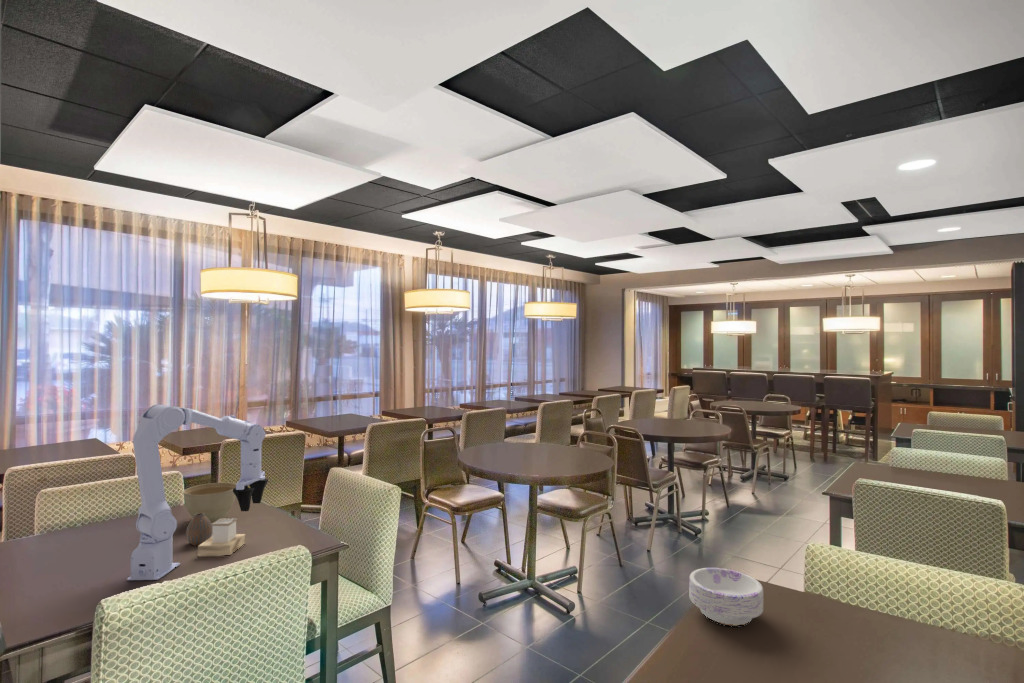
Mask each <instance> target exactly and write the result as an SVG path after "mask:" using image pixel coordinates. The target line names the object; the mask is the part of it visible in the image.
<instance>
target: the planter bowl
mask: <svg viewBox="0 0 1024 683" xmlns="http://www.w3.org/2000/svg"><path fill="white" fill-rule="evenodd" d="M235 487H236V483H233V482H213V483H212V482H211V483H203V484H198V485H195V486H191V487H189V488H185V489H184V490H183V496H184V497H183V498H184V500H183V501H184V506H185V508H186V510H187V512H188V514H189V515H190V516H191V517H192V519H193V518H194V516H195V514H197V513H204V514H205V516H206V517H207V518H208V519H209V520H210V521H211V523H214V522H215V521H217V520H219V519H220V518H227V514H228V513H229V512H230V510H231V509H232V507H233V505H234V504H235V502H236V499H237V497H236V496H235V494H234V493H233V489H234V488H235Z"/></svg>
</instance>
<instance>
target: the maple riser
mask: <svg viewBox="0 0 1024 683" xmlns="http://www.w3.org/2000/svg"><path fill="white" fill-rule="evenodd" d="M243 544H245V545H246V533H236V537H235V538H234V539H232V540H231V541H230V542H228V543H213V535H211V538H209V539H208V540H206V541H205V542H203V543H202V544H200V545H197V557H198V556H199V557H222V556H221V555H230V554H232V553H233V552H235V551H236V550H237V549H238V550H240V549H241V548H242V547H243V546H244V545H243ZM242 545H243V546H242ZM241 546H242V547H241ZM240 547H241V548H240ZM239 548H240V549H239ZM238 550H237V551H238ZM237 551H236V552H237ZM236 552H235V553H236ZM233 554H234V553H233ZM233 554H232V555H233Z"/></svg>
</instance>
